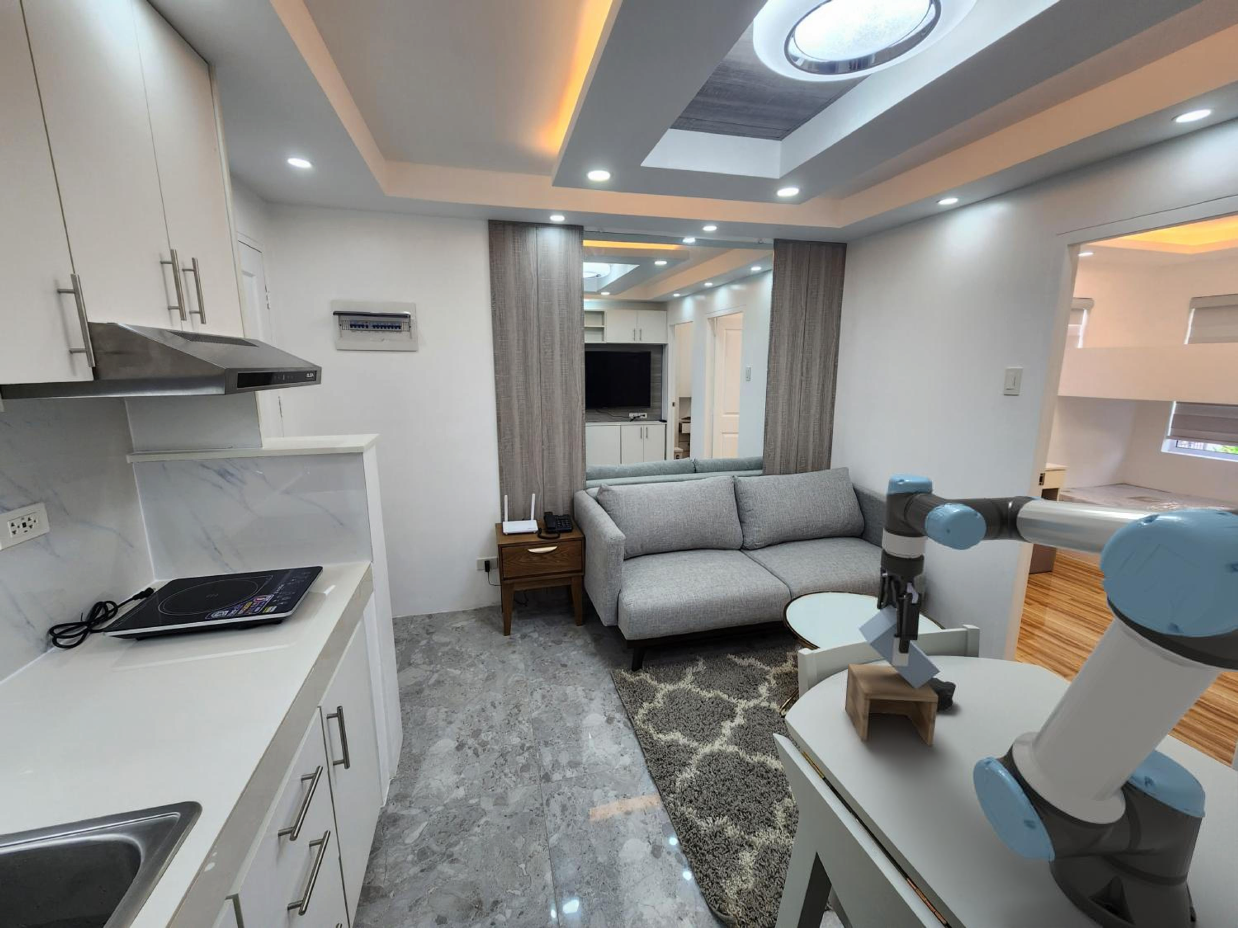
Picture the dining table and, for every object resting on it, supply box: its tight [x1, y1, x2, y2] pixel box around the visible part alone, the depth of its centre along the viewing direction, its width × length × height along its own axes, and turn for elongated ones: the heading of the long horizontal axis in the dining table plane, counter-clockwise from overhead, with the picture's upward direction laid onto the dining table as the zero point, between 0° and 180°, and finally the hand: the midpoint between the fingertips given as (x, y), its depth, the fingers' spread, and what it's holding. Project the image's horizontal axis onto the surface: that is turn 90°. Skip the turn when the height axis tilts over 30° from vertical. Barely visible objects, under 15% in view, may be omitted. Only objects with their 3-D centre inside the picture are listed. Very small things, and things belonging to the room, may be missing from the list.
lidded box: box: [858, 604, 941, 689], centre depth 103 cm, size 14×6×8 cm
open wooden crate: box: [844, 663, 938, 746], centre depth 106 cm, size 10×14×11 cm
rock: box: [927, 677, 957, 713], centre depth 112 cm, size 10×9×6 cm
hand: (892, 654), depth 104 cm, fingers open, 6 cm apart
